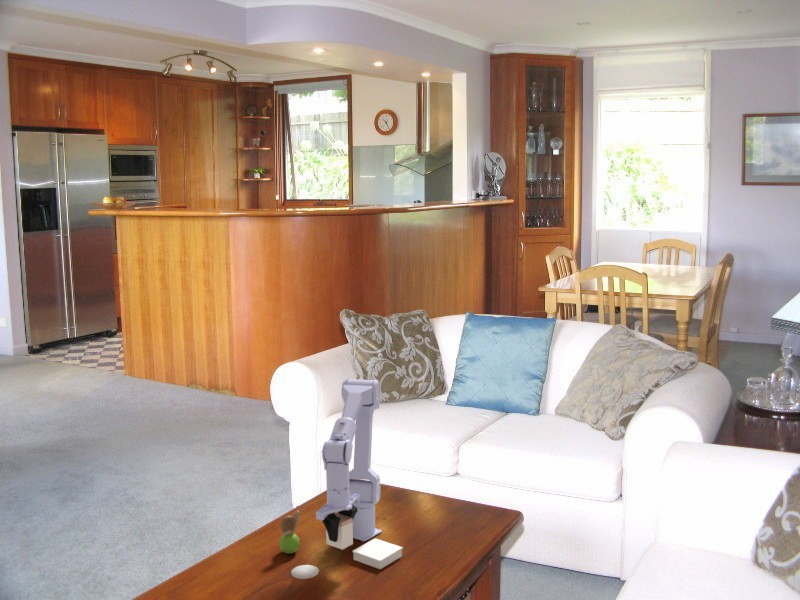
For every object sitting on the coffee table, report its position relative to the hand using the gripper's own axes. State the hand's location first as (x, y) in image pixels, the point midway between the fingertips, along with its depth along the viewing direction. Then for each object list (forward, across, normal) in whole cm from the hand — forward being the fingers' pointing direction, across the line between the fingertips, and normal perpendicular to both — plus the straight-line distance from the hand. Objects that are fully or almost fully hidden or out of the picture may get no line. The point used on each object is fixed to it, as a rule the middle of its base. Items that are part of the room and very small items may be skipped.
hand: (339, 537), depth 212 cm
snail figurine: (+9, -1, +17) cm, 19 cm away
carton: (+2, 0, 0) cm, 2 cm away
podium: (+9, +10, -4) cm, 14 cm away
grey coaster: (+9, -7, +6) cm, 13 cm away
